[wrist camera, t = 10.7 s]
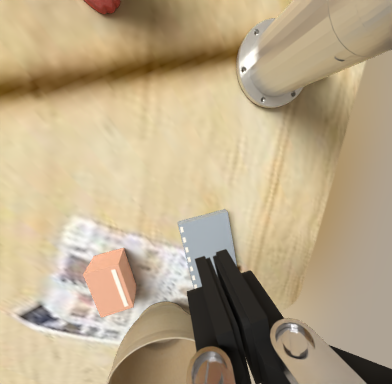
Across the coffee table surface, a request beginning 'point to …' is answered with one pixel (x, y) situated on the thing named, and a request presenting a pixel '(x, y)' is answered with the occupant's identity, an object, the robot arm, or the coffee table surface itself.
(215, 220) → the board
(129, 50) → the coffee table surface
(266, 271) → the coffee table surface
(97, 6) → the stacking bear
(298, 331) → the robot arm
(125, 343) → the planter bowl
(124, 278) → the peach rectangular block
